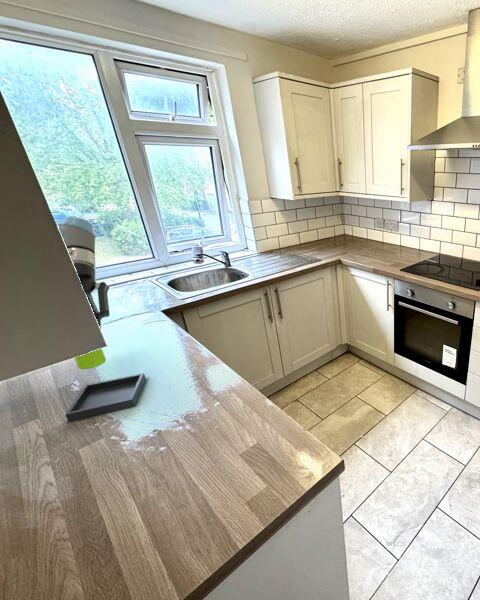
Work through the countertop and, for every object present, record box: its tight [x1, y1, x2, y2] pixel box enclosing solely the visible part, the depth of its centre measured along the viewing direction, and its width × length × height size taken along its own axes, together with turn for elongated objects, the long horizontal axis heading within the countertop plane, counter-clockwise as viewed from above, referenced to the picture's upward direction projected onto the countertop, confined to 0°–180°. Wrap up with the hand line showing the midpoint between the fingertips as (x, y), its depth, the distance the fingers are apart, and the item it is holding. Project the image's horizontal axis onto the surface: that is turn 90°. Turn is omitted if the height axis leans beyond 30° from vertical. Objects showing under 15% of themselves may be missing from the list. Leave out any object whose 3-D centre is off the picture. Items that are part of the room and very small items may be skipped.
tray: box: [64, 372, 147, 422], centre depth 95 cm, size 15×14×2 cm
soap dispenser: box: [74, 348, 107, 370], centre depth 88 cm, size 6×7×20 cm
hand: (76, 344), depth 86 cm, fingers closed on soap dispenser, 6 cm apart
